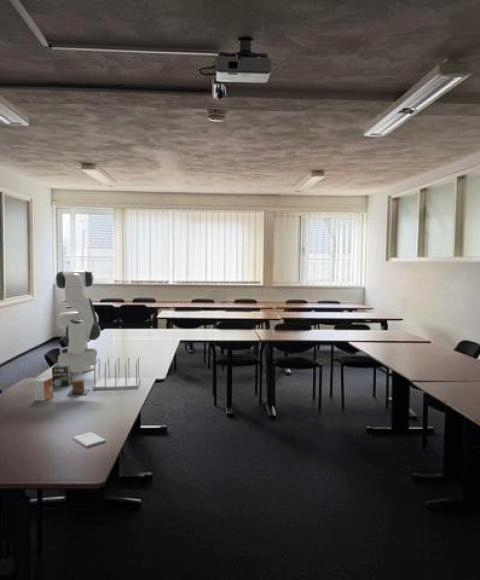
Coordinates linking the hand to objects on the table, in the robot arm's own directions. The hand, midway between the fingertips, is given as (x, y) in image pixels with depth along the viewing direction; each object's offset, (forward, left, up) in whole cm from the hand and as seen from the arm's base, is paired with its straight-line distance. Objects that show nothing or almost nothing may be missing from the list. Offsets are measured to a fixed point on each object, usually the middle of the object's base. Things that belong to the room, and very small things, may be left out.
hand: (77, 373), depth 259 cm
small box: (+8, -16, -11) cm, 21 cm away
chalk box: (-19, -13, -11) cm, 26 cm away
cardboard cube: (0, 0, -10) cm, 10 cm away
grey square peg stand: (0, 0, -11) cm, 11 cm away
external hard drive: (+69, +18, -12) cm, 73 cm away
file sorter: (-13, +19, -11) cm, 26 cm away
